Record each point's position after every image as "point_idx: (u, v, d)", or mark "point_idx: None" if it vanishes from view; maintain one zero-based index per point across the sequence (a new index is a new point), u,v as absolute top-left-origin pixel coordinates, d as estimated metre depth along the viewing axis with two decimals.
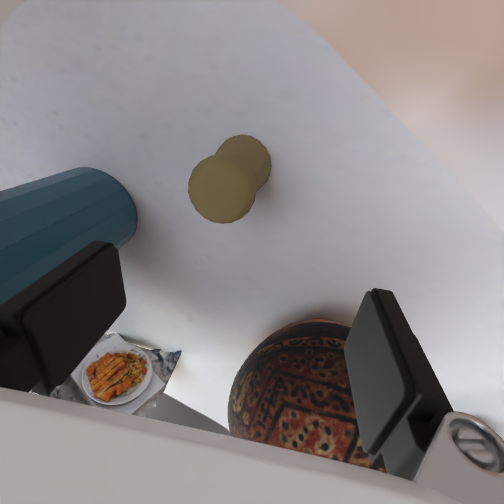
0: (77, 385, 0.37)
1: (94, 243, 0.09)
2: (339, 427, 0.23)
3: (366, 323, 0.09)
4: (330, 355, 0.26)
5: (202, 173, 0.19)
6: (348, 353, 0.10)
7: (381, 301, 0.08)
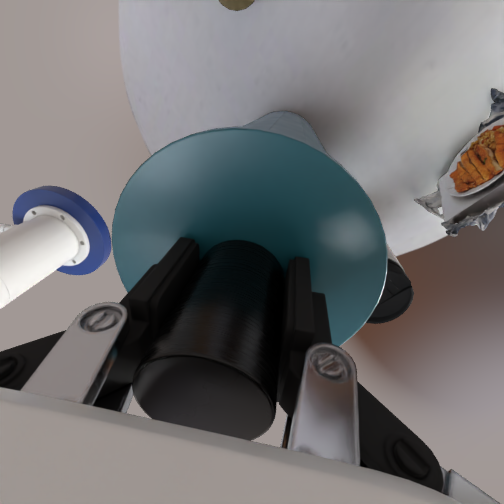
0: (478, 202, 0.29)
1: (181, 240, 0.10)
2: None
3: (285, 286, 0.10)
4: None
5: None
6: None
7: (295, 265, 0.10)
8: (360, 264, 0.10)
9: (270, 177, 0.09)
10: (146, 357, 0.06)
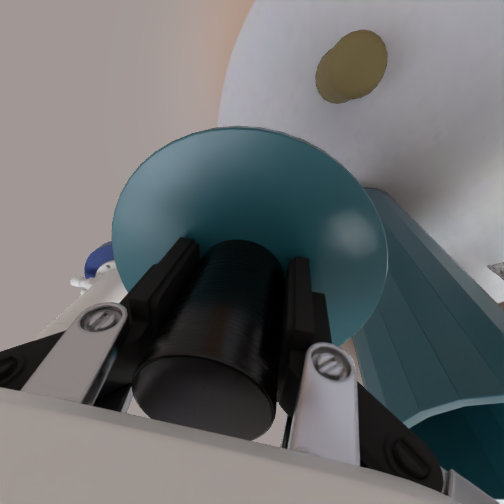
0: None
1: (181, 240, 0.10)
2: None
3: (285, 286, 0.10)
4: None
5: (338, 78, 0.24)
6: None
7: (295, 265, 0.10)
8: (360, 264, 0.10)
9: (270, 176, 0.09)
10: (145, 357, 0.06)
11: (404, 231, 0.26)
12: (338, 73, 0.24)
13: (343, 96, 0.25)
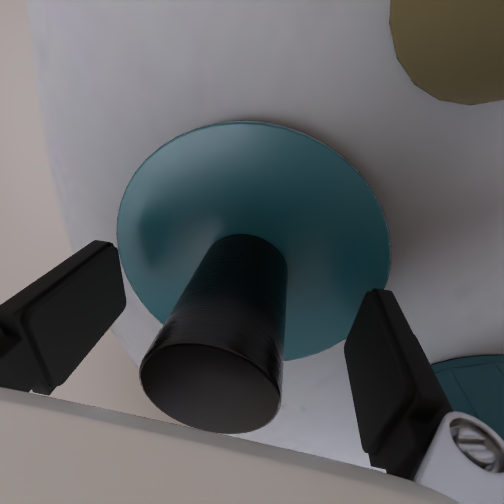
0: None
1: (94, 243, 0.09)
2: None
3: (366, 323, 0.09)
4: None
5: None
6: (348, 352, 0.10)
7: (381, 301, 0.08)
8: (363, 258, 0.10)
9: (274, 171, 0.09)
10: (153, 346, 0.06)
11: None
12: None
13: None
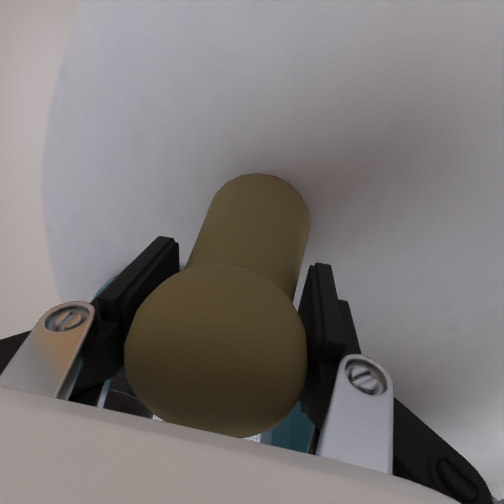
0: None
1: (159, 239, 0.10)
2: None
3: (307, 293, 0.10)
4: None
5: (151, 411, 0.07)
6: None
7: (318, 272, 0.09)
8: None
9: None
10: None
11: None
12: (146, 404, 0.07)
13: None
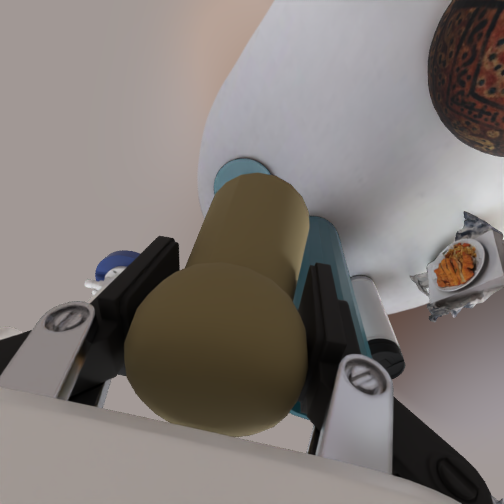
0: (451, 296, 0.43)
1: (159, 239, 0.10)
2: (500, 28, 0.23)
3: (307, 293, 0.10)
4: (439, 46, 0.28)
5: (151, 409, 0.07)
6: None
7: (318, 272, 0.09)
8: None
9: (250, 168, 0.46)
10: None
11: (318, 256, 0.37)
12: (146, 402, 0.07)
13: None
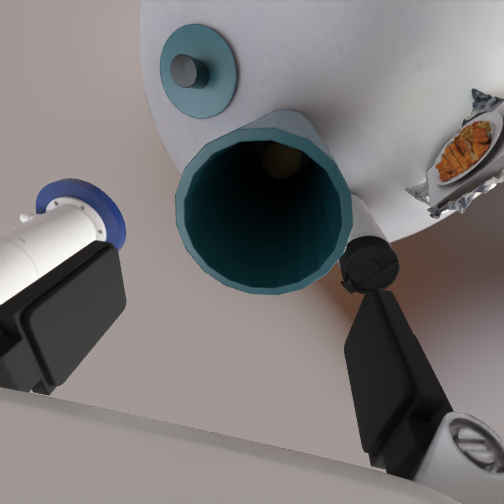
0: (458, 189, 0.33)
1: (94, 243, 0.09)
2: None
3: (366, 323, 0.09)
4: None
5: (268, 169, 0.34)
6: (348, 352, 0.10)
7: (381, 301, 0.08)
8: (228, 65, 0.38)
9: (202, 37, 0.37)
10: (173, 59, 0.34)
11: (279, 113, 0.27)
12: (268, 166, 0.34)
13: (275, 178, 0.35)
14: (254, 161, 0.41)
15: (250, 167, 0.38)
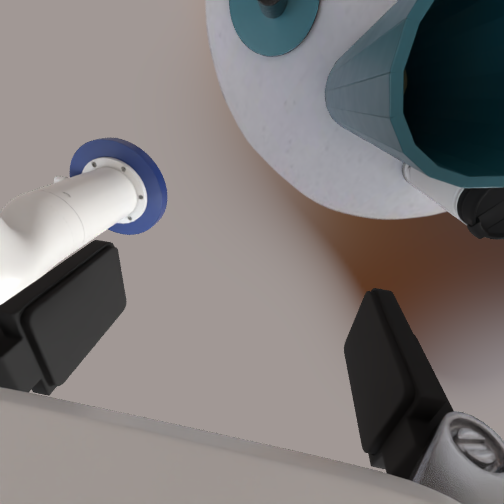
0: None
1: (94, 243, 0.09)
2: None
3: (366, 323, 0.09)
4: None
5: None
6: (348, 353, 0.10)
7: (381, 301, 0.08)
8: None
9: None
10: None
11: None
12: None
13: None
14: None
15: None
